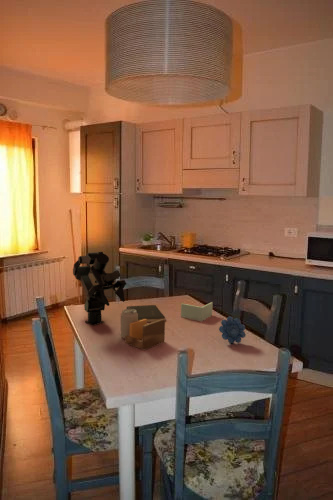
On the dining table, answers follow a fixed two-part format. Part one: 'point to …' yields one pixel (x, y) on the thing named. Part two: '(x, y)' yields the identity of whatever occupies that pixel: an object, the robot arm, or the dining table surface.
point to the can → (127, 321)
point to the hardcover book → (147, 312)
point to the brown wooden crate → (149, 335)
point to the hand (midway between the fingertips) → (116, 303)
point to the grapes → (232, 330)
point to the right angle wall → (196, 311)
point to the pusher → (137, 329)
